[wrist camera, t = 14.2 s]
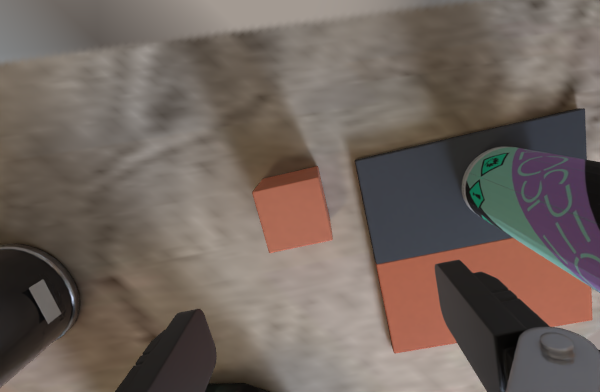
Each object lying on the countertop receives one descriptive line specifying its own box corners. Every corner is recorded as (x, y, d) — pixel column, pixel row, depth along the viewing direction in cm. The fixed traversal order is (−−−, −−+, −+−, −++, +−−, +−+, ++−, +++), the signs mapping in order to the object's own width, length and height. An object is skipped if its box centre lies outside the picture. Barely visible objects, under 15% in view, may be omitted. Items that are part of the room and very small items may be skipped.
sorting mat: (392, 348, 29) (394, 353, 28) (354, 159, 25) (355, 161, 24) (586, 315, 27) (592, 320, 27) (578, 108, 23) (585, 108, 23)
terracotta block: (276, 230, 27) (269, 253, 22) (262, 178, 26) (251, 191, 21) (330, 219, 26) (333, 240, 22) (317, 165, 25) (318, 176, 21)
